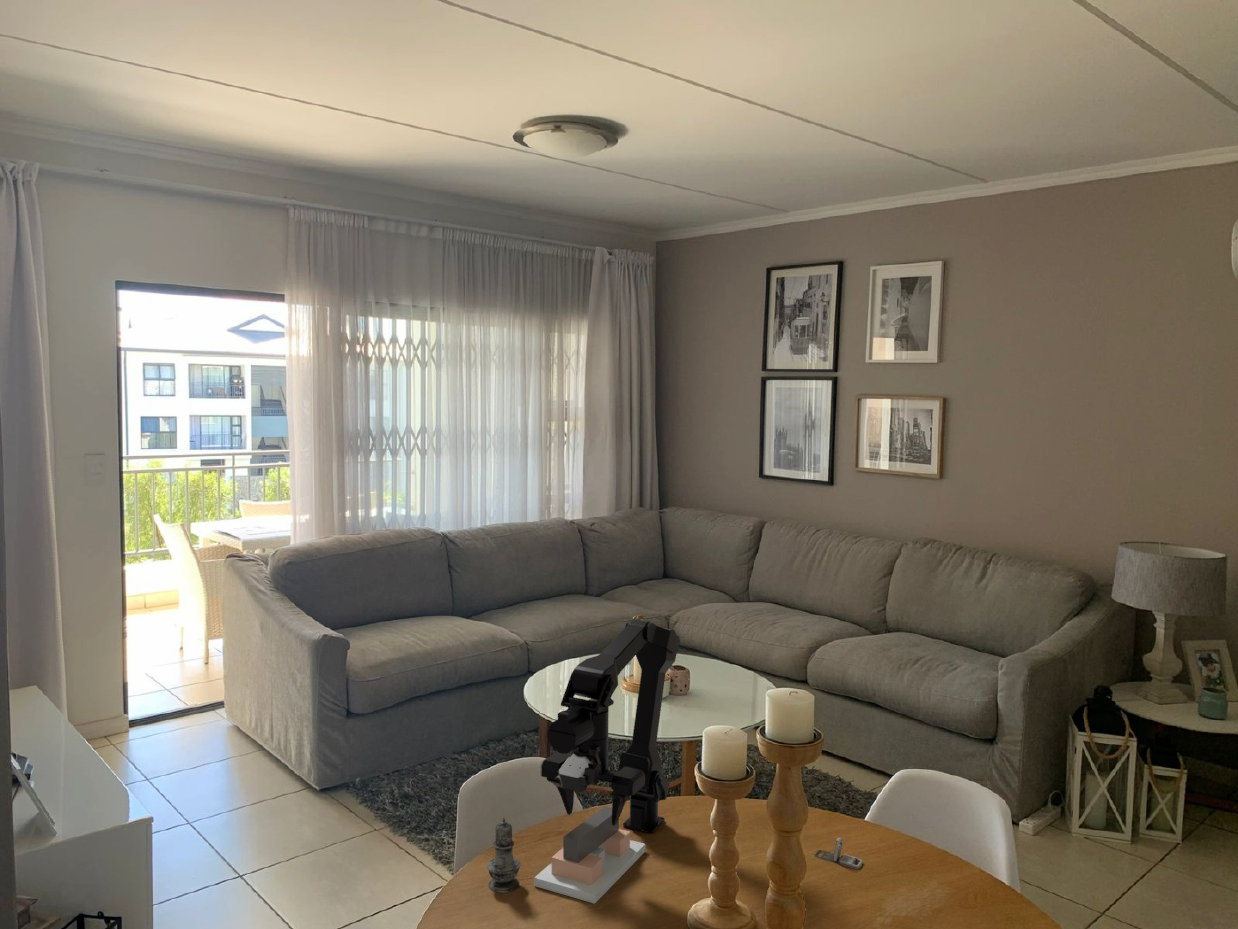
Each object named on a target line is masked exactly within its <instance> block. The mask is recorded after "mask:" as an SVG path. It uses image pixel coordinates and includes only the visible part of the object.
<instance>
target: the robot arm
mask: <svg viewBox="0 0 1238 929" xmlns="http://www.w3.org/2000/svg"><path fill="white" fill-rule="evenodd" d="M680 644H681V642H680V637H679V635H677V632H676V631H675V629H673V628H666V627H662V626H658V625H656V624H655V623H654V622H651V621H650V620H642V619H635V618H633V619H629V620H628V621H627V622H626V624H625V627H624V628H623V629H622V631H621V632H620V633H618V635H617V636H616V637H615V638H614V639H613V640H612V641H611V642H610V643H609V644H608V645H607V647H605V649H603V650H602V651H601V653H599V654H598V655H595V656H591V657H587V658H585V659H584V660H583V661H581V662H580V663H578V664H577V665H576V666H575V667H574V669H573V671H572V672H571V674H570V676H569V680H568V682H567V685H566V688H565V691H564V692H563V693H564V694H563V697H562V699H561V702H560V706H561V707H565V708H567V709H565V710H561V711H559V712H558V713H557V719H556V720H554V721H553V722H552V723H550V725H549V726H548V730H547V740H548V742H549V744H550V746H551V748H552V749H553V750H554V751H556V752H554V753H553V754H551V755H550V756H548V757H547V758H545V759H543V760H542V762H541V764H540V777H542V778H546V781H547V782H549V783H551V784H553V786H555V787H556V788H557V790H558V793H559V795H560V797H561V798H560V799H561V801H562V803H563V806H564V809H565V811H566V815H569V816H570V815H571V814H573V808H574V802H575V801H574V800H575V791H576V792H579V793H582V792H584V791H586V790H587V788H588V787H589V786H590V785H591V786H596V785H597V784H598V782H599V781H602V782H606V783H607V782H608V783H610V789H611V790H612V792H610V793H609V795H610V797H611V799H612V804H611V808H612V825H613V826H615V825H616V824H617V822H618V819H619V820H620V817H621V814H622V811H623V809H624V807H625V806H626V802H627V800H628V798H629V817H628V818H627V819H626V820H625V821H624V822H623V823H622V827H624V828H628V829H631V830H632V829H633V830H638V831H641V832H644V833H649V834H652V833H654V832H655V830H657V829H658V828H659V827H660V826H661V825H662V824H663V823H664V822H665V817H663V816H659V802H660V801H664V800H666V799H667V795H668V794H669V792H670V789H669V788H670V782H669V780H668V779H667V778H666V776H664V774H663V773H662V772H663V771H662V768H663V761H662V758H661V756H660V754H659V751H658V748H657V741H658V734H659V733H658V732H659V725H660V719H661V718H660V717H661V711H662V710H661V709H662V703H663V694H664V688H665V681H666V673H667V672H668V671H669V670H670V668H671V667H672V666H673V664H674V663H675V662H676V658H677V653H678V651H679V649H680V646H681V645H680ZM635 657H636V660H637V662H638V664H639V667H640V670H641V673H640V680H639V686H638V687H639V688H638V693H637V701H636V709H635V718H634V724H633V732H632V739H631V744H630V745H629V746H628V748H627V749H626V750H625V751H622V752H621V754H620V755H619V764H618V769H617V771H612V770H609V767H611V766H612V759H611V758H609V745H611V744H612V742H613V741H612V737H611V736H609V714H610V713H609V710H610V706H612V705H614V702H615V701H614V699H612V697H613V694H614V693H615V691H616V689H617V687H618V686H619V675H620V674H621V673H622V671H623V670H624V669H625V668H626V667H627V666H628V664H629V663H630V662H631V661H632V660H633V659H634V658H635ZM575 696H578V697H575ZM580 697H583V698H580ZM584 698H587V699H584ZM568 753H570V754H568Z"/></svg>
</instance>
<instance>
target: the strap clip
mask: <svg viewBox="0 0 1238 929" xmlns="http://www.w3.org/2000/svg"><path fill="white" fill-rule="evenodd" d="M835 842H836V843H835V846H834V847H835V848H834V852H830V851H827V850H823V849H818V850H817V851H816V853H815V854H814V855H813V856H814V858H817V859H820V860H823V861H827V862H837V860H838V864H839V865H842V866H843V867H844V866H845V867H847V868H851V869H854V870H855V869H856V870H859V869H860V868H861V867H862V865H863V860H862V859H861V858H859V857H856V856H852V855H848V854H843V855H842V850H843V843H844V842H843V838H842V837H837V839H835ZM819 853H822V855H821V856H819ZM856 863H858V864H856Z"/></svg>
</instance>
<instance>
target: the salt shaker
mask: <svg viewBox="0 0 1238 929" xmlns="http://www.w3.org/2000/svg"><path fill="white" fill-rule="evenodd" d="M492 844H493V845H492V846H493V847H494V858H492V859H490V860H489V861H488V862H487V864H486V869H487V871H488V874H489V876H490V878H491V880H489V882H488V889H490V890H491V891H493V892H494V893H495V892H496V893H501V894H502V893H510V892H513V891H515V890H516V889H518V887H519V886H520V881H519V880H518V879H517V878H516V877H517V875H518V873H519V870H520V869H521V866H522V865H521V861H520V859H518V858H516V857H514V855H513V847H514V845H515V841H514V840H513V826H512V824H511V823H510V822H507V820H506V819H505V818H504V817H503V818H502V819H501V821H500V822H499V823H497V824H496V825H495V841H494V842H493V843H492Z"/></svg>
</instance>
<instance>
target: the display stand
mask: <svg viewBox="0 0 1238 929" xmlns="http://www.w3.org/2000/svg"><path fill="white" fill-rule="evenodd" d="M644 853H646V843H643V842H639V841H635V840H631V831H629V830H624V829H622V828H621V829H620V828H619V831H618V832H616V833H615V834H614V835H613V836H611V837H610V838H609V839H608V840H606V841H605V842H604V843H602V844H601V845H600V846H599V847H597V848H596V849H595V850H594V851H592V852H591V853H590V854H589V855H587V856H586V857H585V858H584V859H582V860H581V861H580V862H579V863H575V862H572V861H569V860H566V859H563V847H561V849H560V850H558V851H557V852H556V853H555V854H554V855H553V856H551V863H550V864H548V865H547V866H546V867H545V868H544V869H542V870H541V871H540V872H539V873H538V874H537V875H536V876H534V878H533V881H534V882H533V885H534V887H536V888H539V889H540V888H541V889H543V890H547V891H550V892H553V893H556V894H561V895H563V896H564V895H565V896H568V897H571V898H575V899H578V900H581V901H585V902H587V903H591V904H594V905H595V904H596V903H597V902H598V901H599V900H600V899H601V898H602V897H603V896H604V895H605V894H606V893H607V892H608V891H609V890H610V888H612V886H613V885H615V883H617V881H618V880H619V879H620V878H622V877H623V875H625V873H626V872H627V871H628V870H629V869H630V868H631V867H632V866H633V865H634V864H635V863H636V862H637V860H639V859H640V857H642V856H643V854H644Z"/></svg>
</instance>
